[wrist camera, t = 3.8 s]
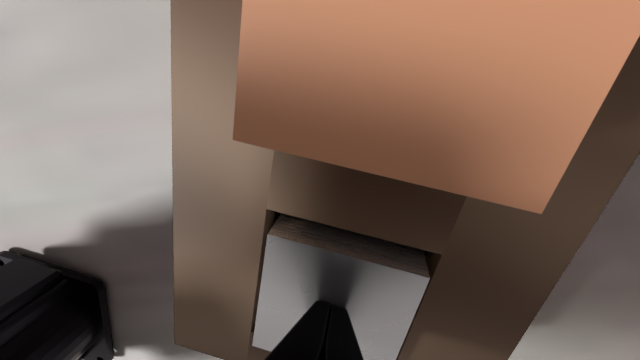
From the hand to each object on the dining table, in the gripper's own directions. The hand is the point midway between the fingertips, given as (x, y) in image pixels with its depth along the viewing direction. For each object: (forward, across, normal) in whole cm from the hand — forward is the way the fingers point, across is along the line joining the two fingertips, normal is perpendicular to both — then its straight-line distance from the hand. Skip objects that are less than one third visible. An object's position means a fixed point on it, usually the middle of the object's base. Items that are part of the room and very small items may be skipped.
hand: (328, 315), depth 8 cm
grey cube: (+4, 0, 0) cm, 4 cm away
